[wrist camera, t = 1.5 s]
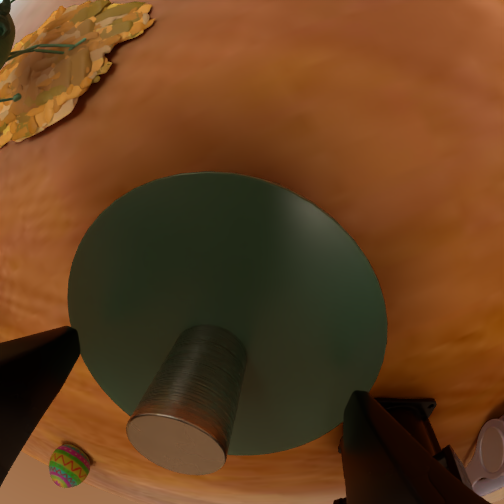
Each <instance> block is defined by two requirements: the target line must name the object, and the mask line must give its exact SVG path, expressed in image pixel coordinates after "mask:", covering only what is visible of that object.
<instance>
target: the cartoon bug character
mask: <svg viewBox="0 0 504 504" xmlns="http://www.w3.org/2000/svg"><path fill="white" fill-rule="evenodd" d="M13 1H15V0H12V1H11V2H10V0H3V2H2V3H0V70H1V68H2V67H3V66H4V64H5V62H6V63H7V65H6V66H5V67H4V68H3V69H2V70H1V71H0V147H2V146H3V145H4V144H6V143H7V142H8V141H10V140H14V141H16V142H20V141H22V140H24V139H26V138H29V137H30V136H33V135H35V134H37V133H39V132H41V131H42V130H45V128H46V127H48V126H50V125H52V124H54V123H55V122H57V121H59V120H60V119H62V118H63V117H65V116H66V115H68V114H69V113H70V112H71V111H72V110H73V108H74V106H75V105H76V103H77V101H78V97H79V96H81V95H82V94H83V93H84V92H85V91H87V90H88V88H89V86H90V84H91V83H95V82H98V81H99V79H100V77H99V76H96V75H99V74H104V73H106V72H107V71H108V69H109V67H110V66H111V64H112V62H108V60H107V58H106V57H105V56H104V55H105V54H106V53H110V51H111V50H112V48H113V47H114V46H115V45H116V44H117V43H120V42H123V41H125V40H127V39H132V38H134V37H137V36H138V35H140V34H142V33H143V32H144V31H143V30H144V29H146V28H148V27H149V26H151V25H152V23H153V21H154V20H155V19H150V20H149V18H150V17H149V15H148V14H147V13H148V12H149V11H150V8H151V6H152V5H150V4H145V3H146V2H143V3H142V2H130V3H126V4H111V2H110V1H109V0H96V1H95V2H91V0H89V1H87V2H85V3H83V4H81V5H79V6H77V5H73V6H70V7H68V8H67V9H66V8H64V7H63V6H60V7H59V9H58V10H56V11H54V12H53V13H52V14H51V16H50V17H49V18H48V19H47V20H46V21H45V23H44V24H43V25H42V26H41V27H40V28H39V29H38V30H37V31H36V32H34V33H31V34H28V35H27V36H25V37H24V38H23V39H22V40H21V41H20V42H19V43H16V45H15V46H14V48H13V49H12V46H13V42H14V39H15V26H14V23H13V20H12V18H11V16H10V14H9V12H10V9H11V3H12V2H13ZM143 4H145V5H143ZM142 5H143V6H142ZM11 49H12V50H11ZM11 137H12V138H11Z"/></svg>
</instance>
